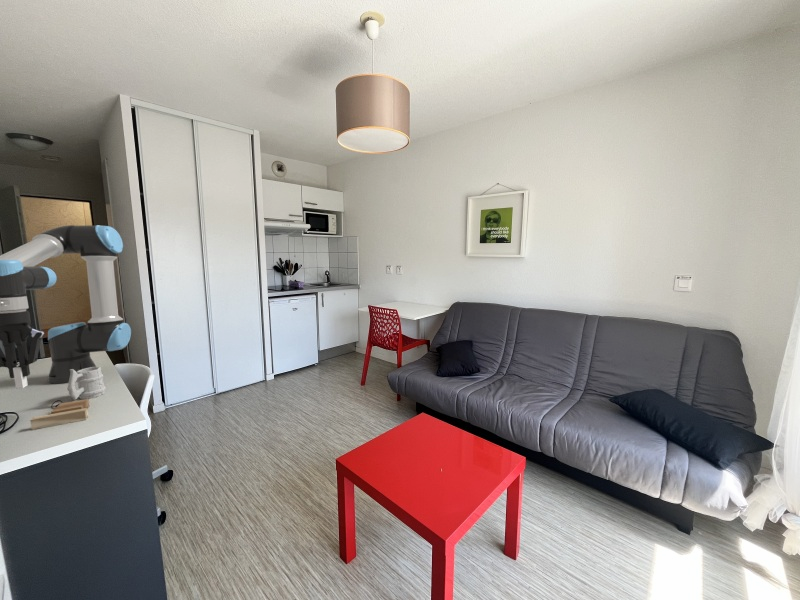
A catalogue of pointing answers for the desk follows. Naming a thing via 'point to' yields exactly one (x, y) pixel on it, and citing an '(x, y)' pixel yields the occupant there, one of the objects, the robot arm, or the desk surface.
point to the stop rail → (59, 418)
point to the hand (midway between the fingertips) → (22, 387)
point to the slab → (71, 406)
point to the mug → (86, 383)
